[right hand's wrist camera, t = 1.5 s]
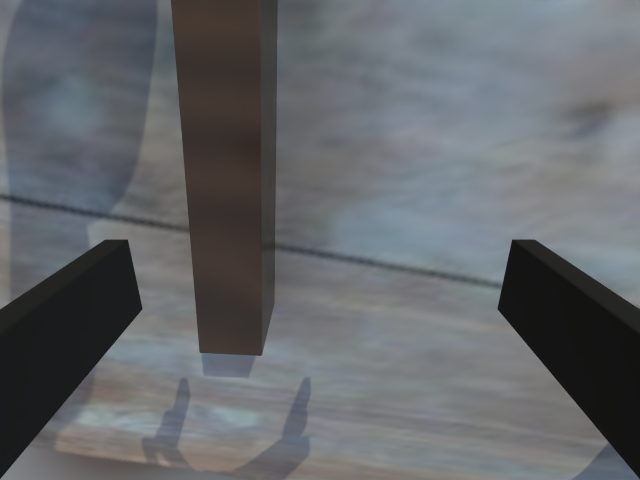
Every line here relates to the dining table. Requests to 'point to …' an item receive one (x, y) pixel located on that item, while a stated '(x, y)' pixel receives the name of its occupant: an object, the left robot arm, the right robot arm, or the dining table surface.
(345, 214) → the dining table surface
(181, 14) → the walnut beam
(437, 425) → the dining table surface
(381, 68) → the dining table surface
